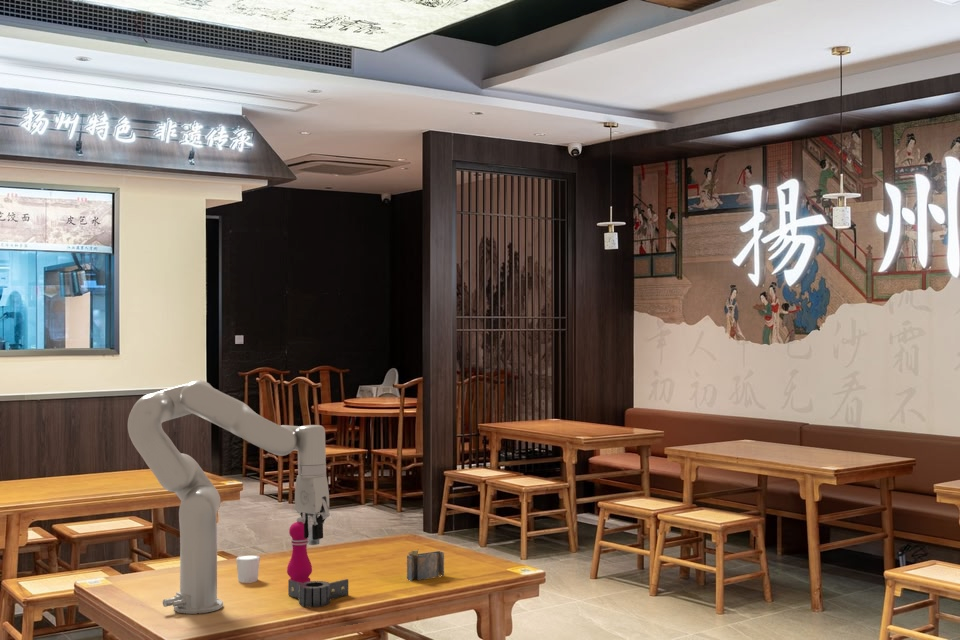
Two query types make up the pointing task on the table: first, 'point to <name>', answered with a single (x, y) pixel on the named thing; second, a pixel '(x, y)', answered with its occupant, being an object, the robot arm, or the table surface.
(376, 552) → the table surface
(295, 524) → the pepper mill
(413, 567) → the rusty metal bracket
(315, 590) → the hinge
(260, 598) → the table surface
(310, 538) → the hinge pin
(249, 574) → the white cup
